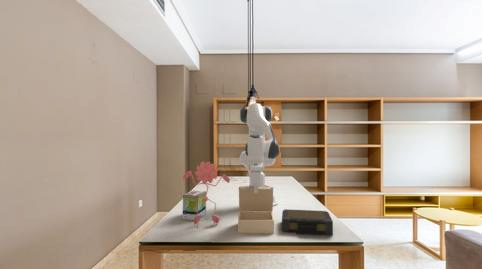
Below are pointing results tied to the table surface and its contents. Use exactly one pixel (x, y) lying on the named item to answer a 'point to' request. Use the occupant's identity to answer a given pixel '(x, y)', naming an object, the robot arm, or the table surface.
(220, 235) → the table surface
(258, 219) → the mailer box
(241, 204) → the lid
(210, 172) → the figurine
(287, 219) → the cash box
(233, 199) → the table surface
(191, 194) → the tea box
